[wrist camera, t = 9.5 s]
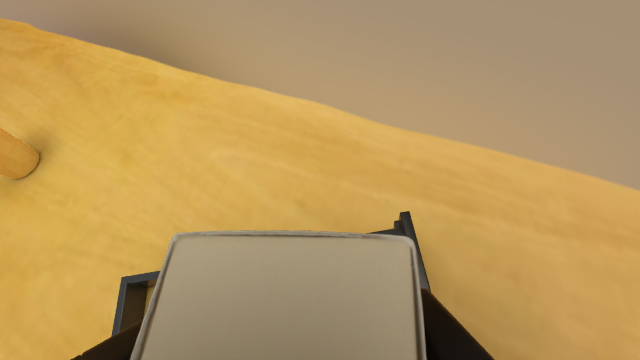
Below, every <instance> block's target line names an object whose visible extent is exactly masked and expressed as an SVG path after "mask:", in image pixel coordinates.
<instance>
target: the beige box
mask: <svg viewBox="0 0 640 360" xmlns="http://www.w3.org/2000/svg"><path fill="white" fill-rule="evenodd" d="M130 360H427V359H426V344H425V331H424V318H423V306H422V297H421V288H420V280H419V269H418V260H417V252H416V247H415V244H414V241H413V240H412V239H410V238H409V237H406V236H395V235H384V234H363V233H348V232H328V231H320V232H317V231H255V230H241V231H207V232H183V233H176V234H175V235H174V236H173V237H172V239H171V242H170V244H169V247H168V251H167V254H166V257H165V260H164V263H163V267H162V269H161V271H160V274H159V277H158V280H157V283H156V285H155V288H154V291H153V294H152V296H151V299H150V302H149V305H148V308H147V311H146V314H145V317H144V319H143V322H142V326H141V329H140V332H139V334H138V337H137V340H136V343H135V347H134V349H133V352H132V355H131V359H130Z"/></svg>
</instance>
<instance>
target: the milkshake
mask: <svg viewBox="0 0 640 360" xmlns="http://www.w3.org/2000/svg"><path fill="white" fill-rule="evenodd" d="M39 160H40V158H39V152H38V151H36V150H35V149H33V148H32V147H30V146H28V145H27V144H25V143H24V142H22V141H20V140H19V139H17V138H16V137H14V136H12V135H11V134H9V133H8V132H6V131H4V130H3V129H1V128H0V174H1V175H3V176H6V177H9V178H12V179H19V178H22V177H25V176H27V175H28V174H29V173H30V172H31V171H33V170H34V169H35V167H36V165H37V164H38V162H39Z"/></svg>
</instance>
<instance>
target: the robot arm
mask: <svg viewBox="0 0 640 360" xmlns="http://www.w3.org/2000/svg"><path fill="white" fill-rule="evenodd" d="M421 297H422V306H423V318H424V331H425V344H426V359H427V360H494V359H493V357H492V356H491V355H490V354H489V353H488V352H487V351H486V350H485V349H484V348H483V347H482V346H481V345H480V344H479V343H478V342H477V341H476V340H475V339H474V337H473V336H472V335H471V334H470V333H469V332H468V331H467V330H466V329H465V328H464V327H463V326H462V325H461V324H460V323H459V322H458V321H457V320H456V319H455V318H454V316H453V315H452V314H451V313H450V312H449V311H448V310H447V309H446V308H445V307H444V306H443V305H442V304H441V303H440V302H439V301H438V300H437V299H436V298H435V296H434V295H433V294H432V293H431V292H430V291H429V290H428V289H426V288H421ZM142 322H143V320H141V321H139V322H137V323H136V324H134V325H132V326H130V327H128V328H127V329H125V330H123V331H121V332H119V333H118V334H116V335H114V336H112V337H111V338H109V339H107V340H105V341H103V342H102V343H100V344H98V345H96V346H94V347H93V348H91V349H89V350H87V351H86V352H84V353H83V354H82V356H81V355H78V356H76V357H75V358H73V359H71V360H130V359H131V355H132V352H133V349H134V347H135V343H136V340H137V337H138V334H139V332H140V329H141V326H142Z"/></svg>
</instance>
